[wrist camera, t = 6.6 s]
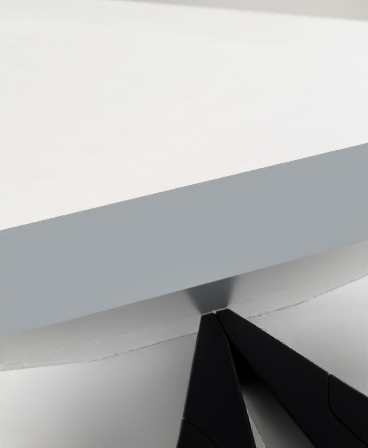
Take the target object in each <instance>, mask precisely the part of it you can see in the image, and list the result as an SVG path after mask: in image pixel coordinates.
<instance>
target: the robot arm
mask: <svg viewBox="0 0 368 448" xmlns="http://www.w3.org/2000/svg"><path fill="white" fill-rule="evenodd" d="M245 405H246V406H245ZM246 407H247V409H248V411H249V413H250V415H251V417H252V419H253V421H254V423H255V425H256V427H257V429H258V431H259V433H260V436H261V438H262V440H263V442H264V444H265V446H266V448H368V396H366V395H364V394H363V393H361V392H359V391H358V390H356V389H354V388H353V387H351V386H350V385H348V384H346V383H345V382H343V381H342V380H340V379H338V378H337V377H335V376H334V375H332V374H330V375H329V373H328V372H327V371H325V370H324V369H322V368H321V367H319V366H317V365H316V364H314V363H313V362H311V361H310V360H308V359H307V358H305V357H303V356H302V355H300V354H299V353H297V352H296V351H294V350H293V349H291V348H289V347H288V346H286V345H285V344H283V343H282V342H280V341H279V340H277V339H276V338H274V337H272V336H271V335H269V334H268V333H266V332H265V331H263V330H262V329H260V328H258V327H257V326H255V325H254V324H252V323H251V322H249V321H248V320H246V319H245V318H243V317H241V316H240V315H238V314H237V313H235V312H234V311H232V310H231V309H228V308H226V309H223V310H219V311H216V313H213V312H212V313H208V314H205V315H202V316H201V318H200V324H199V329H198V335H197V340H196V346H195V351H194V357H193V362H192V368H191V373H190V379H189V384H188V390H187V395H186V401H185V406H184V412H183V419H182V421H181V426H180V431H179V437H178V441H177V446H176V448H256V445H255V441H254V437H253V433H252V429H251V426H250V422H249V418H248V414H247V410H246Z"/></svg>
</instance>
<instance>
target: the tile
mask: <svg viewBox="0 0 368 448" xmlns="http://www.w3.org/2000/svg"><path fill="white" fill-rule="evenodd" d="M367 275H368V143H366V144H361V145H357V146H353V147H349V148H345V149H340V150H336V151H332V152H328V153H324V154H319V155H315V156H311V157H307V158H303V159H298V160H294V161H290V162H286V163H282V164H277V165H273V166H269V167H265V168H261V169H256V170H252V171H248V172H244V173H240V174H235V175H231V176H227V177H223V178H219V179H214V180H210V181H206V182H202V183H198V184H193V185H189V186H185V187H181V188H177V189H173V190H168V191H164V192H160V193H156V194H152V195H147V196H143V197H139V198H135V199H131V200H126V201H122V202H118V203H114V204H110V205H105V206H101V207H97V208H93V209H89V210H84V211H80V212H76V213H72V214H68V215H63V216H59V217H55V218H51V219H47V220H42V221H38V222H34V223H30V224H26V225H21V226H17V227H13V228H9V229H5V230H0V371H6V370H15V369H24V368H33V367H42V366H52V365H61V364H70V363H79V362H88V361H96V360H100V359H103V358H107V357H110V356H114V355H118V354H121V353H125V352H128V351H132V350H136V349H139V348H143V347H146V346H150V345H153V344H157V343H161V342H164V341H168V340H171V339H175V338H178V337H182V336H186V335H189V334H193V333H196V332H198V329H199V324H200V318H201V316H202V315H205V314H208V313H212V312H213V313H216V311H219V310H223V309H226V308H228V309H231V310H232V311H234V312H235V313H237V314H238V315H240V316H241V317H243V318H245V319H246V318H250V317H254V316H257V315H261V314H264V313H268V312H271V311H275V310H279V309H282V308H286V307H289V306H293V305H297V304H300V303H303V302H305V301H308V300H310V299H312V298H315V297H317V296H320V295H322V294H324V293H327V292H329V291H331V290H334V289H336V288H339V287H341V286H343V285H346V284H348V283H350V282H353V281H355V280H358V279H360V278H362V277H365V276H367Z"/></svg>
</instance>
